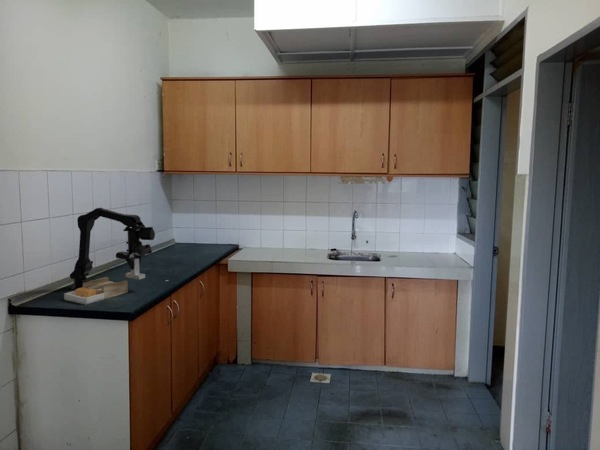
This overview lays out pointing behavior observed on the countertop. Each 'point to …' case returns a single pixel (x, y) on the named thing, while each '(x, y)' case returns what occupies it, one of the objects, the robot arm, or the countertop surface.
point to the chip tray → (82, 298)
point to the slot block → (107, 287)
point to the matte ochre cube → (80, 291)
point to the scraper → (135, 271)
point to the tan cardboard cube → (89, 293)
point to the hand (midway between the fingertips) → (134, 269)
